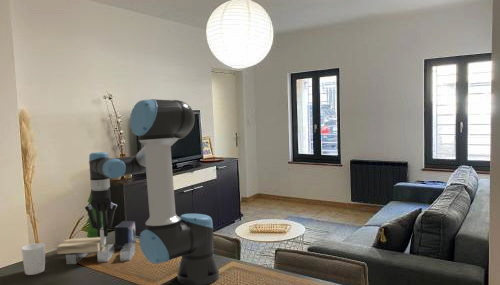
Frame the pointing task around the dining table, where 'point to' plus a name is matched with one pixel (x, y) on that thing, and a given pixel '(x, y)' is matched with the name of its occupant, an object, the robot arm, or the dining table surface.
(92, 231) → the decorative tree
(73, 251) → the oak slab
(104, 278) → the dining table surface
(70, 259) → the grey marble block
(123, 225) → the small box
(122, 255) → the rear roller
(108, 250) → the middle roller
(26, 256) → the white cup
